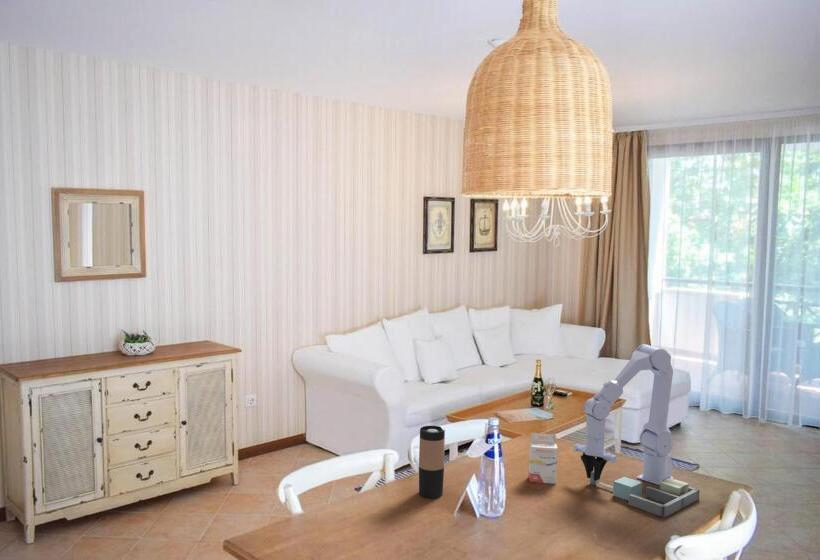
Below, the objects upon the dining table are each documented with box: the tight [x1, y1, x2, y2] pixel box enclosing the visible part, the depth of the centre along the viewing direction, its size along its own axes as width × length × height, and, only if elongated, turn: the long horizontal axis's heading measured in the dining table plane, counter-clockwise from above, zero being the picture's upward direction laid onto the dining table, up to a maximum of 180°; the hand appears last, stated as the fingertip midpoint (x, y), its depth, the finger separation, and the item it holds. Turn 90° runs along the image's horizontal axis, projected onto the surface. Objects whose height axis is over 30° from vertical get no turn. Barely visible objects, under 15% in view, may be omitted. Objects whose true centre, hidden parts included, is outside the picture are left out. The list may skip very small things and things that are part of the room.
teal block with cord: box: [589, 470, 643, 502], centre depth 206 cm, size 6×16×4 cm, turn 41°
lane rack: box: [628, 479, 700, 518], centre depth 198 cm, size 21×11×3 cm, turn 131°
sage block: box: [659, 478, 690, 496], centre depth 201 cm, size 6×6×5 cm
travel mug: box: [418, 425, 446, 499], centre depth 200 cm, size 8×8×20 cm
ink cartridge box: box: [528, 432, 559, 485], centre depth 213 cm, size 9×5×15 cm, turn 84°
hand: (593, 478), depth 211 cm, fingers closed on teal block with cord, 2 cm apart
